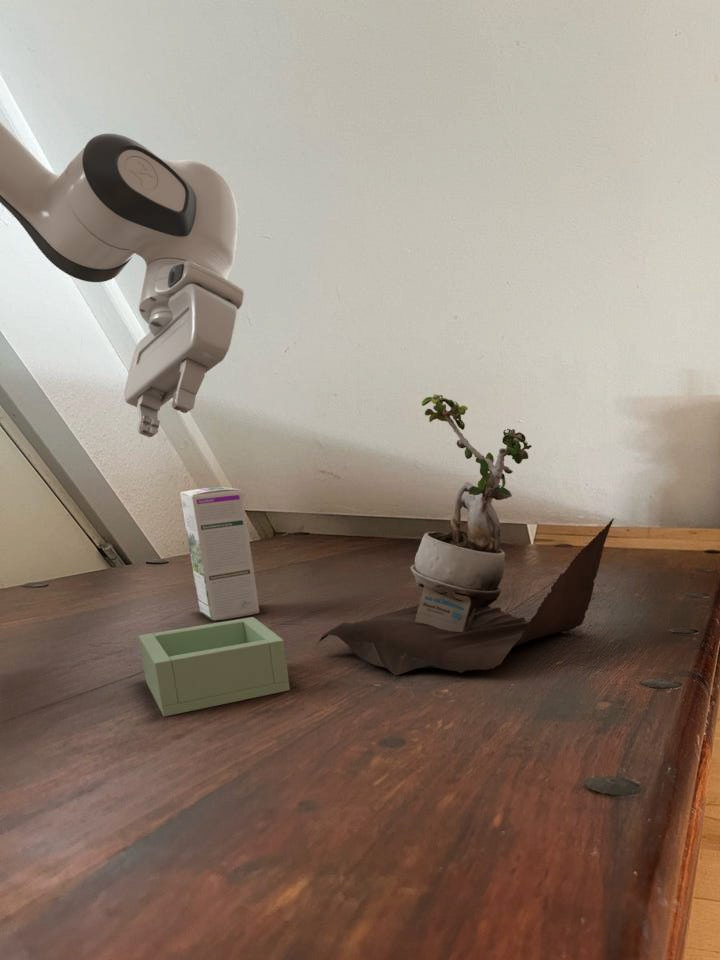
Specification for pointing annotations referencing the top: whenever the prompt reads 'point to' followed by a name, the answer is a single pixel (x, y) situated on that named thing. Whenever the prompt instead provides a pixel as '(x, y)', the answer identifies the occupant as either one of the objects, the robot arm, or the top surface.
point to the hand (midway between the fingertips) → (163, 422)
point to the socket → (213, 664)
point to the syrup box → (220, 552)
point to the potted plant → (470, 582)
